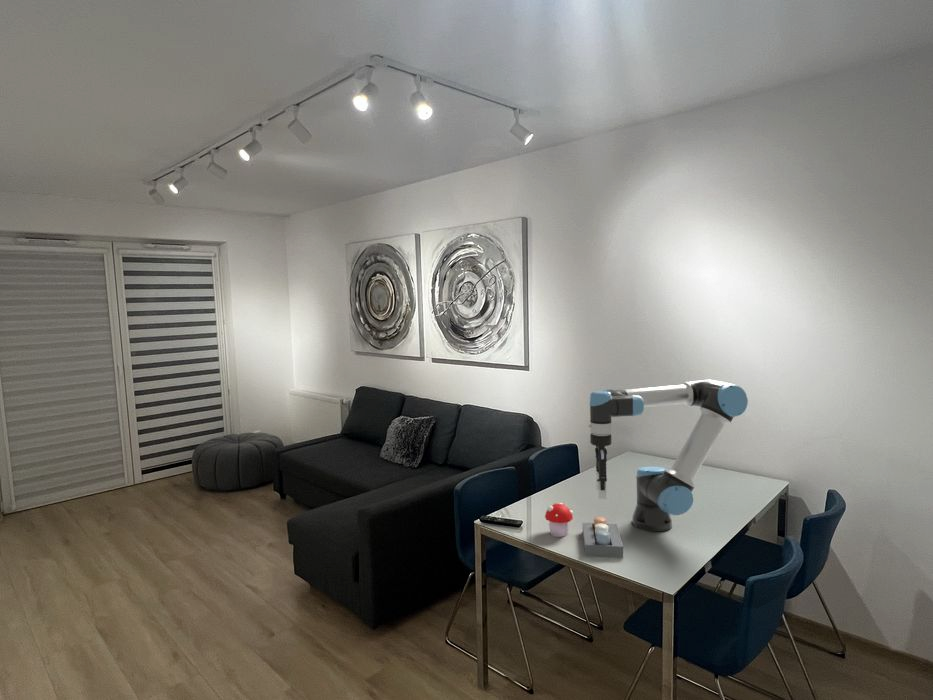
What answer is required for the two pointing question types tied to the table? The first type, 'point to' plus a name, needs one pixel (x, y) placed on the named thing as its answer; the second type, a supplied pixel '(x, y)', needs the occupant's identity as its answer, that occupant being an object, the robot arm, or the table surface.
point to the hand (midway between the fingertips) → (601, 493)
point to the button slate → (602, 538)
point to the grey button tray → (602, 550)
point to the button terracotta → (599, 521)
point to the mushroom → (558, 519)
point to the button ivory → (600, 528)
